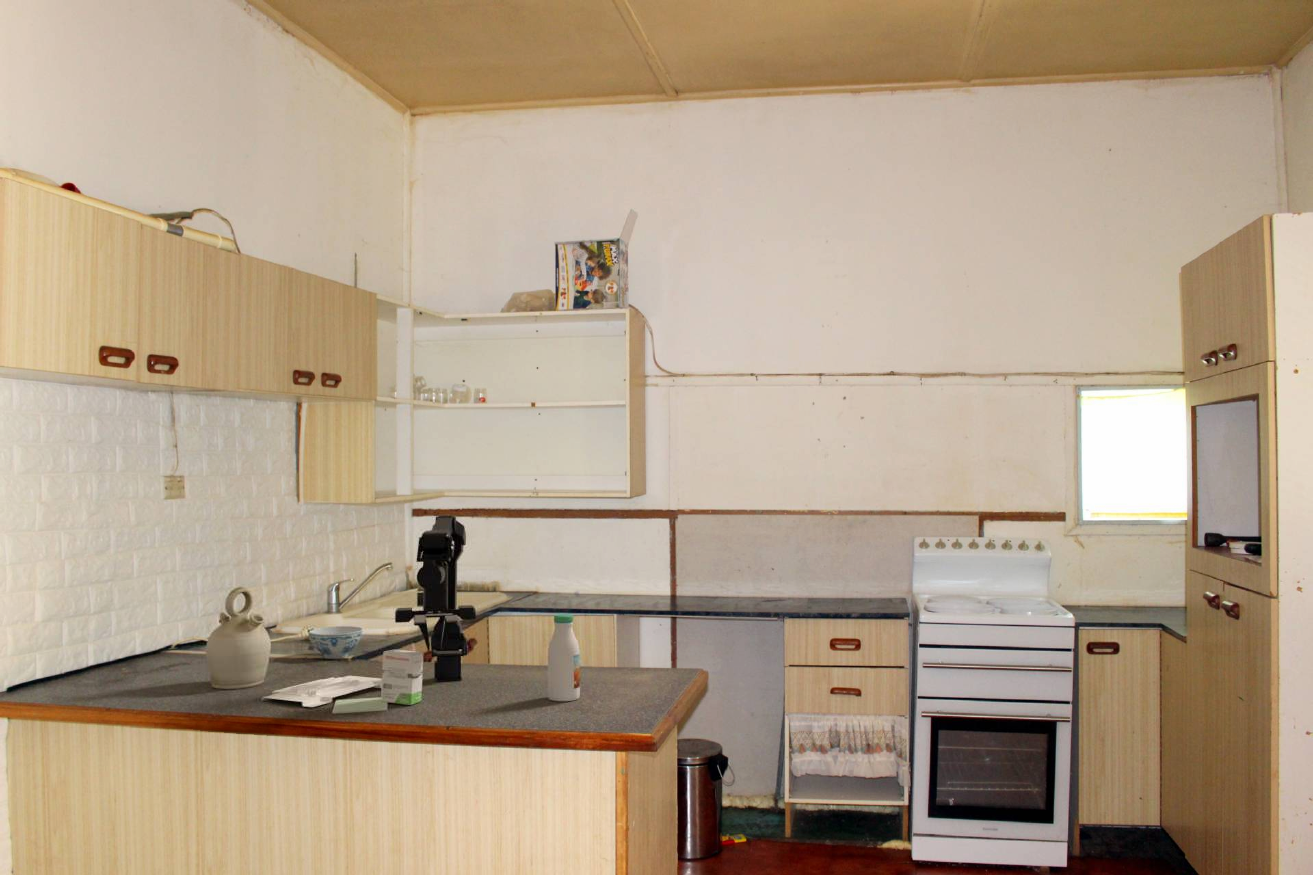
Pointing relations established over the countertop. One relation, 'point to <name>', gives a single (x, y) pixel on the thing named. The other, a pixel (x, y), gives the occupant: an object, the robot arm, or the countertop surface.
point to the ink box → (402, 677)
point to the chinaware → (335, 640)
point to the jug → (238, 646)
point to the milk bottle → (563, 661)
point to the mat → (359, 705)
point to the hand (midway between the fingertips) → (435, 649)
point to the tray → (324, 690)
